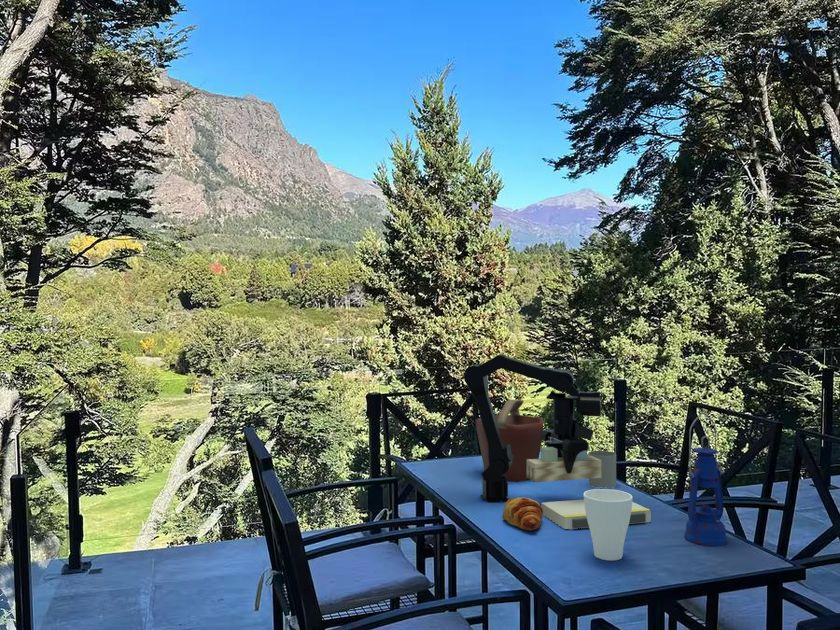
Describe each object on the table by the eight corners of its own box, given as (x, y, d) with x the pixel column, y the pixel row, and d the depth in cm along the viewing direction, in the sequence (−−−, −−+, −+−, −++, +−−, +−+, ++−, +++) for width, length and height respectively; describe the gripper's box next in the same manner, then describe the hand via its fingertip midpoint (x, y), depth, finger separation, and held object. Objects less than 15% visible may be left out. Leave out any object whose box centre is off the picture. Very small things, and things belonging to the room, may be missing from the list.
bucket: (501, 464, 241) (501, 394, 241) (559, 473, 228) (559, 398, 228) (465, 478, 221) (465, 401, 221) (526, 488, 208) (526, 407, 208)
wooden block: (535, 482, 185) (535, 464, 185) (526, 477, 191) (526, 459, 191) (601, 477, 190) (601, 460, 190) (590, 473, 196) (590, 455, 196)
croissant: (502, 523, 185) (488, 498, 184) (533, 504, 186) (520, 479, 186) (524, 548, 164) (508, 519, 163) (559, 527, 165) (544, 498, 164)
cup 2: (604, 567, 143) (604, 503, 143) (574, 551, 152) (573, 491, 152) (643, 560, 147) (643, 498, 147) (611, 545, 156) (611, 486, 156)
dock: (566, 530, 167) (566, 518, 167) (541, 513, 181) (541, 502, 181) (652, 523, 173) (652, 510, 173) (621, 507, 187) (621, 495, 187)
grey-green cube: (545, 462, 187) (545, 449, 187) (540, 459, 191) (540, 447, 191) (557, 461, 188) (557, 449, 188) (552, 459, 191) (552, 446, 191)
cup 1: (609, 490, 205) (609, 457, 205) (584, 486, 210) (584, 454, 210) (620, 484, 212) (620, 452, 212) (595, 480, 217) (595, 449, 217)
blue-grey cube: (575, 460, 189) (575, 448, 189) (570, 457, 193) (570, 445, 193) (587, 459, 190) (587, 447, 190) (581, 457, 194) (581, 445, 194)
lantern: (707, 549, 154) (706, 417, 154) (674, 537, 162) (673, 411, 162) (738, 541, 158) (737, 413, 158) (704, 530, 167) (704, 408, 167)
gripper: (606, 418, 183) (606, 476, 183) (574, 409, 201) (574, 462, 201) (568, 420, 181) (568, 479, 181) (539, 411, 199) (539, 464, 199)
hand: (563, 470), depth 190 cm, fingers closed on wooden block, 6 cm apart
